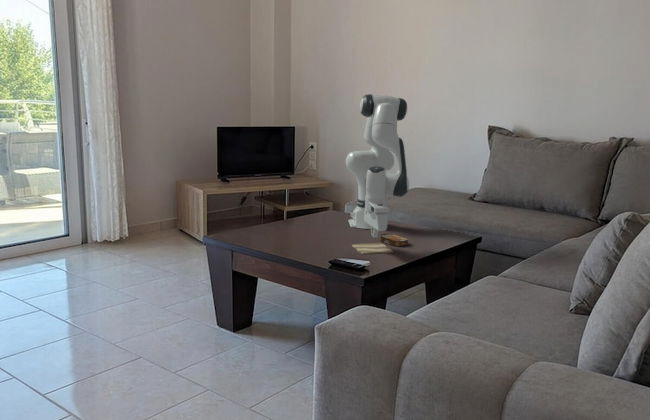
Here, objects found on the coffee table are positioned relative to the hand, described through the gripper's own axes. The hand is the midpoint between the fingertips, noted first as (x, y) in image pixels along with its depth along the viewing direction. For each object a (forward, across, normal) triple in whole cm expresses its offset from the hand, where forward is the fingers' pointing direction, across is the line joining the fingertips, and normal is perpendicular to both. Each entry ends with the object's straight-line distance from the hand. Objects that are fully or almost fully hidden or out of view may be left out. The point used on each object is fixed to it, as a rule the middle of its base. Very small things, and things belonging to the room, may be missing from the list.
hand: (374, 236), depth 254 cm
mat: (+6, -3, 0) cm, 7 cm away
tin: (+5, -10, +9) cm, 15 cm away
